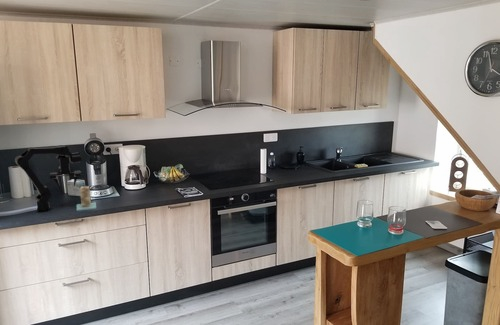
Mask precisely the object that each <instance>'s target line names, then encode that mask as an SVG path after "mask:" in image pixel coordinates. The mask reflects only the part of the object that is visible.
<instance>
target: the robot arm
mask: <svg viewBox="0 0 500 325" xmlns="http://www.w3.org/2000/svg"><path fill="white" fill-rule="evenodd" d="M45 154H55V155H56V156H55V159H57V160H58V161H59V166H58V168H57V169H58V172H60V173H58V172H50V174H49V179H52V180H54V182H55V183H56V185H57V187H58V188H61V187H60V182H59V177H66V176H67V177H68V176H74V186H75V183H76V180H78V178H79V177H81V176H82V171H81V170H74V171H73V172H71V167H70V163H71V164H77V163H81V162H82V156H81V153H80V152H78V151H77V152H72V153H71V151H70V149H69V148H68V146H65V145H63V144H62V145H56V146H50V147H47V146H46V147H45V146H44V147H31V146H30V147H28V149H26V150H25V151H24V152H22V153H20V155H17V156H16V157H15V158H14V162H15V164H16V165H17V166H18V167H20V169H22V171H24V173H25V174H26V176H27V177H28V178H29V180H30V181H31V182H32V184H33V186H35V188H36V192H37V193H38V194H37V196H36V197H35V200H36V207H37V211H36V213H42V212H49V211H50V209H51V208H50V207H51V206H50V202H49V200H50V198H51V196H52V191H51V190H50V189H49V187H48V186H47V185H43V184H42V182H41V181H40V180H39V178H38V176H37V175H36V174H35V172H34V171H33V169H32V168H31V166H30V163H29V160H31V158H32V157H33V156H34V155H45Z"/></svg>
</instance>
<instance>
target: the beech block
mask: <svg viewBox="0 0 500 325" xmlns="http://www.w3.org/2000/svg"><path fill="white" fill-rule="evenodd" d="M90 192H91V190H90V185H85V186H83V187H81V188H80V195H81V196H80V204H81V205H82V207H90V205H91V203H92V201H91V193H90Z"/></svg>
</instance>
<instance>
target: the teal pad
mask: <svg viewBox="0 0 500 325" xmlns="http://www.w3.org/2000/svg"><path fill="white" fill-rule="evenodd" d="M96 209H97V203H96V201H95V202H91V205H90V207H82V205H81V203H77V204H76V212H80V211H87V210H88V211H89V210H96Z"/></svg>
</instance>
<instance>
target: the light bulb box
mask: <svg viewBox="0 0 500 325" xmlns="http://www.w3.org/2000/svg"><path fill="white" fill-rule="evenodd" d="M66 184H67V185H66V186H67V194H68V196H75V197H76V196H77V197H81V195H80V188H81V187H83V186H86V182H85V179H77V180H76V183H75V186H74V179H73V178H72V179H70V180H67V181H66Z"/></svg>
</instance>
